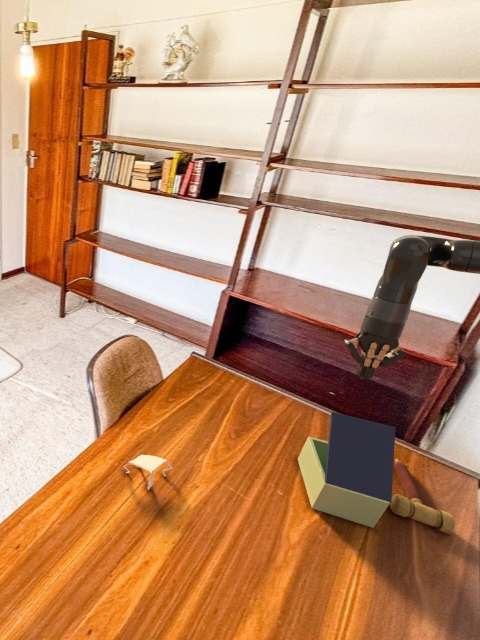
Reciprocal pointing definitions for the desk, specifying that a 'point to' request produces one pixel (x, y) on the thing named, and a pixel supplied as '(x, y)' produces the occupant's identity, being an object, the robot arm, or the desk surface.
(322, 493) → the box
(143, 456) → the miniature stool
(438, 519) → the gavel
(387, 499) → the lid
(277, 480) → the desk surface
